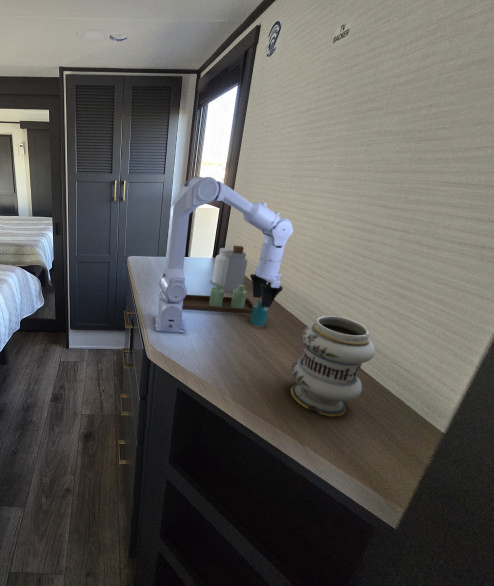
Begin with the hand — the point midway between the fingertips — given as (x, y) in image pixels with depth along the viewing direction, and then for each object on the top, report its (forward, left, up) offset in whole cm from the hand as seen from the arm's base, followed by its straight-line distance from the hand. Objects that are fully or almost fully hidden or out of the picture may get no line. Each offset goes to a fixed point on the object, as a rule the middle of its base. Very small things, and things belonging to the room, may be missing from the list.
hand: (261, 301), depth 96 cm
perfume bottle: (+32, 0, -8) cm, 33 cm away
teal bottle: (0, 0, -8) cm, 8 cm away
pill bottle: (+40, +2, -8) cm, 41 cm away
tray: (+12, +10, -8) cm, 17 cm away
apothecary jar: (-35, -1, -8) cm, 36 cm away
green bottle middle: (+12, +10, -7) cm, 17 cm away
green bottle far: (+12, +3, -7) cm, 14 cm away
